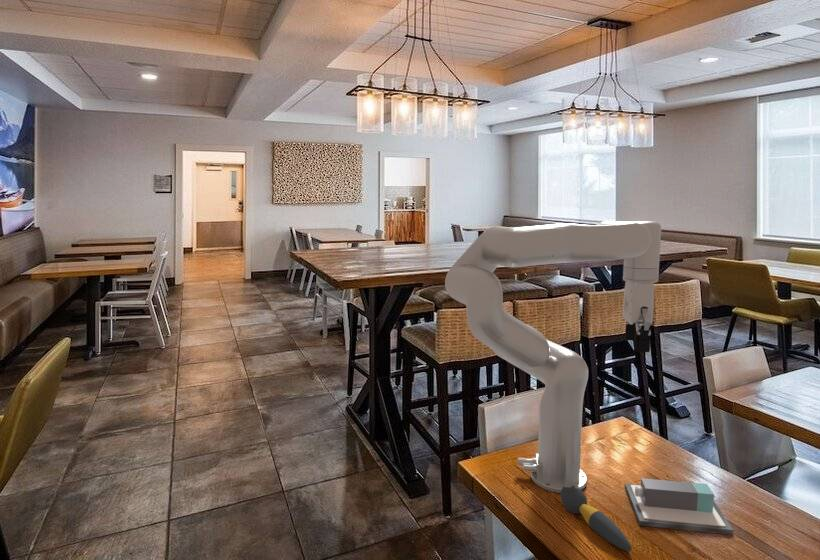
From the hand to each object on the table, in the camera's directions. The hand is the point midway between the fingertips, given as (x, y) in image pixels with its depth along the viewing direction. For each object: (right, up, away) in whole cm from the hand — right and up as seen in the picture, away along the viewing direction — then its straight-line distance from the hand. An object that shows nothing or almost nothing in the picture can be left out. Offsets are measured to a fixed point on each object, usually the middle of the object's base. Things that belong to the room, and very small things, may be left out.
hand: (636, 345), depth 122 cm
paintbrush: (-17, -34, -18) cm, 42 cm away
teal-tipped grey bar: (+2, -32, -14) cm, 35 cm away
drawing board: (+2, -33, -14) cm, 36 cm away
